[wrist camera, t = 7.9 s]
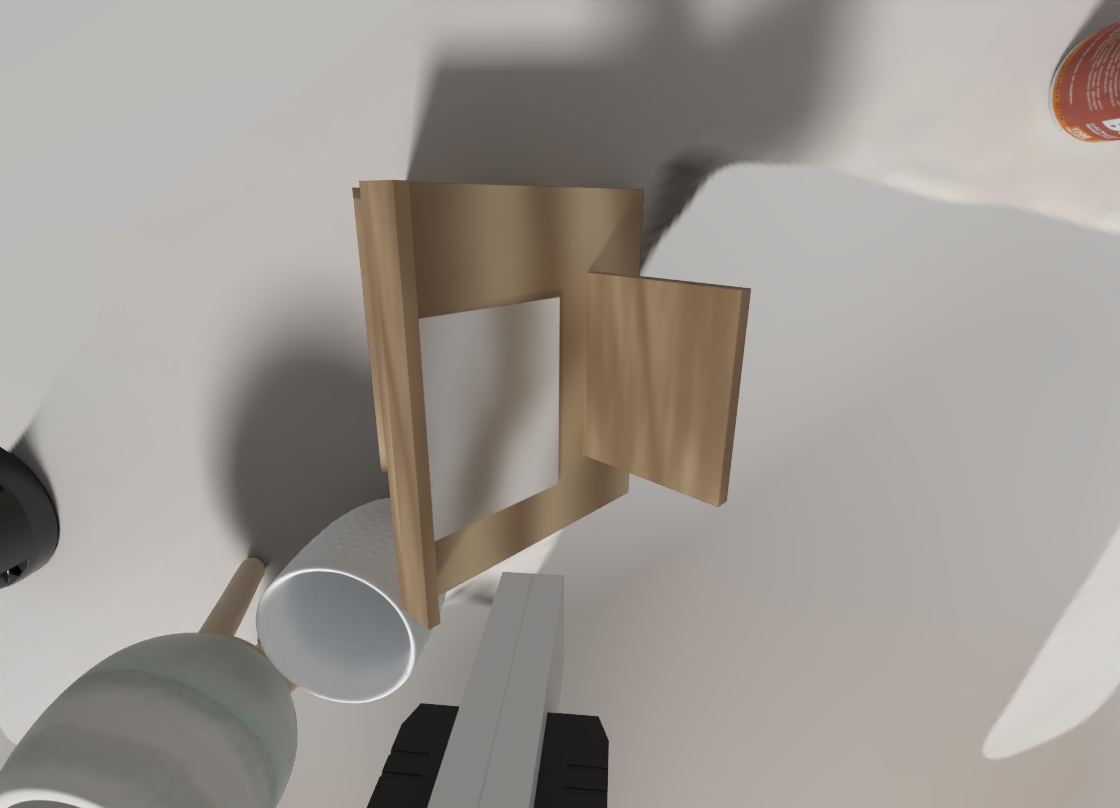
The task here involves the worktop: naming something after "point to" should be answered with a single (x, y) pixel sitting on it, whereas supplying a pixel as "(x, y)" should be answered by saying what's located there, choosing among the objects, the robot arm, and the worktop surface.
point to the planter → (166, 724)
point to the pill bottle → (1089, 89)
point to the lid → (534, 369)
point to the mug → (343, 612)
